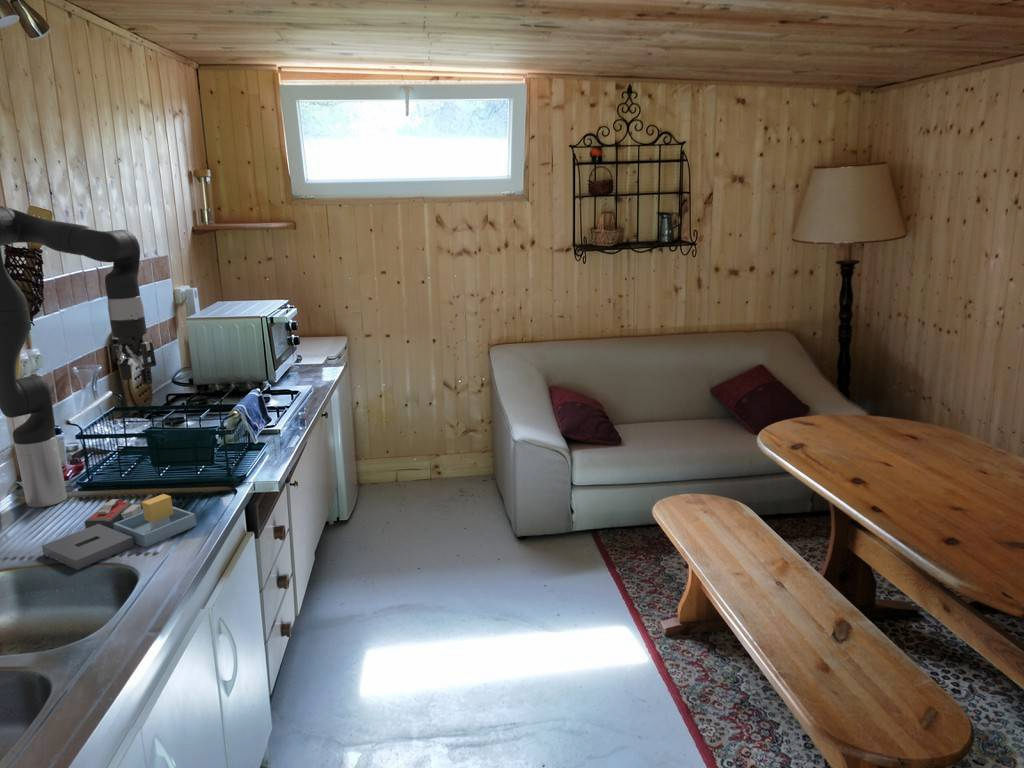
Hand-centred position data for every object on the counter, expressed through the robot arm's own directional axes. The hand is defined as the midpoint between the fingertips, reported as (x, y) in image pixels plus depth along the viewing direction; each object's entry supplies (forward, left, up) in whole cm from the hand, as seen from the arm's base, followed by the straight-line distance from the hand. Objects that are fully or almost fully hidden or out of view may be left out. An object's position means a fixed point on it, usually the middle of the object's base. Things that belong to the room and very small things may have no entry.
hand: (137, 381), depth 190 cm
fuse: (+12, -7, -33) cm, 35 cm away
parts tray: (+12, -8, -33) cm, 36 cm away
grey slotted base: (+8, -22, -33) cm, 41 cm away
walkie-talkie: (-4, -7, -34) cm, 35 cm away
